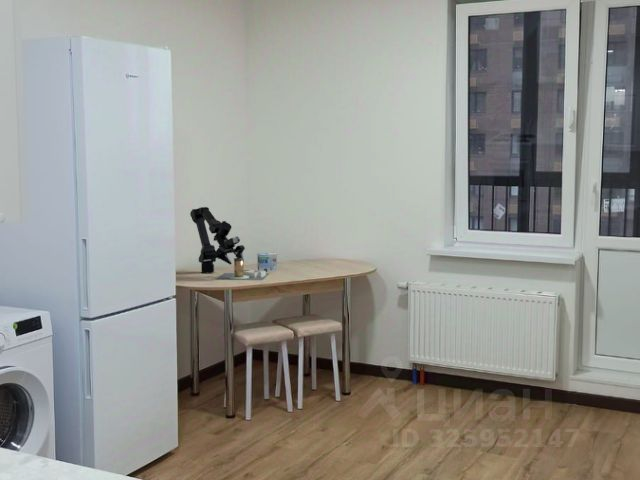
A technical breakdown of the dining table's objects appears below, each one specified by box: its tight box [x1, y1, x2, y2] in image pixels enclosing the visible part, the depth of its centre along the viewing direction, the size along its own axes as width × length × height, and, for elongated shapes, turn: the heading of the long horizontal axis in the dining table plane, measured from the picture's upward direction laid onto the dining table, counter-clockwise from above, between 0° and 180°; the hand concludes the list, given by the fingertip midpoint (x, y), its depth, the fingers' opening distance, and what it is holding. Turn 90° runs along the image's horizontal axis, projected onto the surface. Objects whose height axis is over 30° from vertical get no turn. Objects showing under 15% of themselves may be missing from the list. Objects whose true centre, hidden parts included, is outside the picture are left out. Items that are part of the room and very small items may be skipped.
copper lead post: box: [233, 257, 245, 277], centre depth 421 cm, size 5×5×10 cm
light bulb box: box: [257, 252, 278, 273], centre depth 448 cm, size 11×7×11 cm, turn 105°
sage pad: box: [229, 275, 249, 281], centre depth 422 cm, size 11×11×1 cm
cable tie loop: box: [244, 269, 267, 277], centre depth 430 cm, size 11×9×3 cm
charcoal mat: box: [215, 272, 270, 281], centre depth 428 cm, size 26×24×1 cm
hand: (237, 263), depth 422 cm, fingers open, 9 cm apart
